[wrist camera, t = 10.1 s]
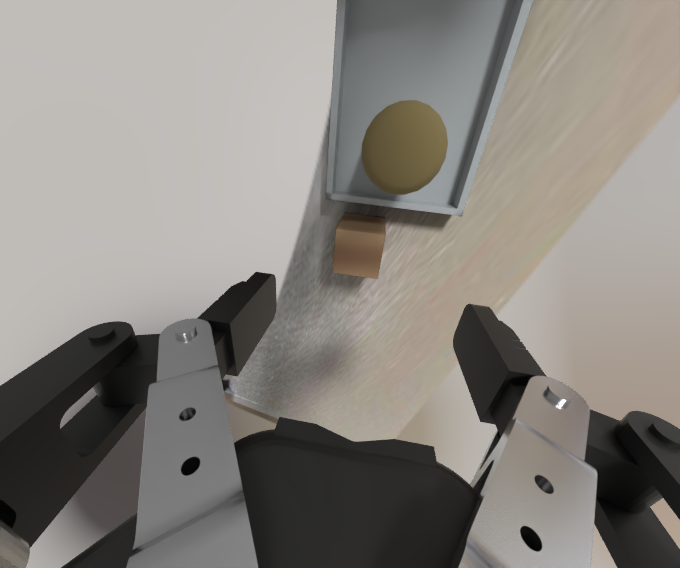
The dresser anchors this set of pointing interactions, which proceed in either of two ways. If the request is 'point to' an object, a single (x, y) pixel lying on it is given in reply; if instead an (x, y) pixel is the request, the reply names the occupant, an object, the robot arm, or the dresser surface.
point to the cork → (404, 147)
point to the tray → (419, 86)
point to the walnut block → (359, 245)
